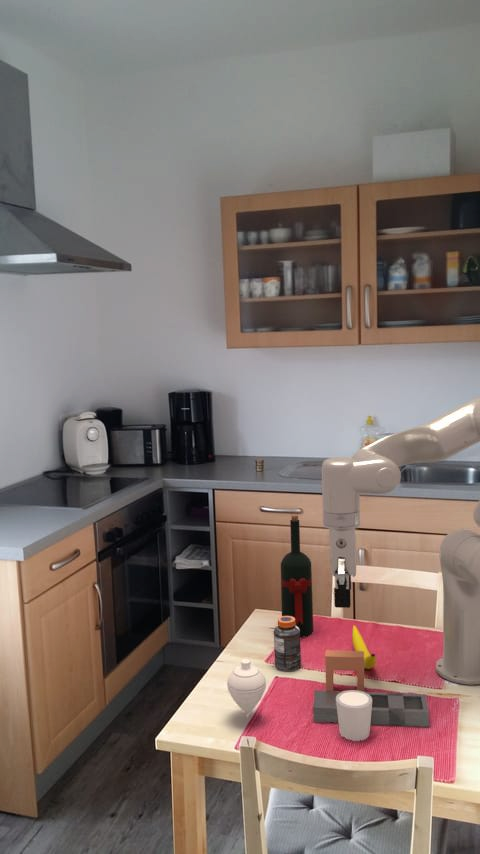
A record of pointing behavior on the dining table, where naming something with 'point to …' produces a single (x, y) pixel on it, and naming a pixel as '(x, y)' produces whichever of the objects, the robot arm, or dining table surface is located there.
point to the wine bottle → (297, 583)
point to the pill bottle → (287, 644)
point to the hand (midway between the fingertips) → (343, 598)
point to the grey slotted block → (378, 708)
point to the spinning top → (246, 685)
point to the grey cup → (354, 714)
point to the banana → (363, 649)
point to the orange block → (344, 666)
